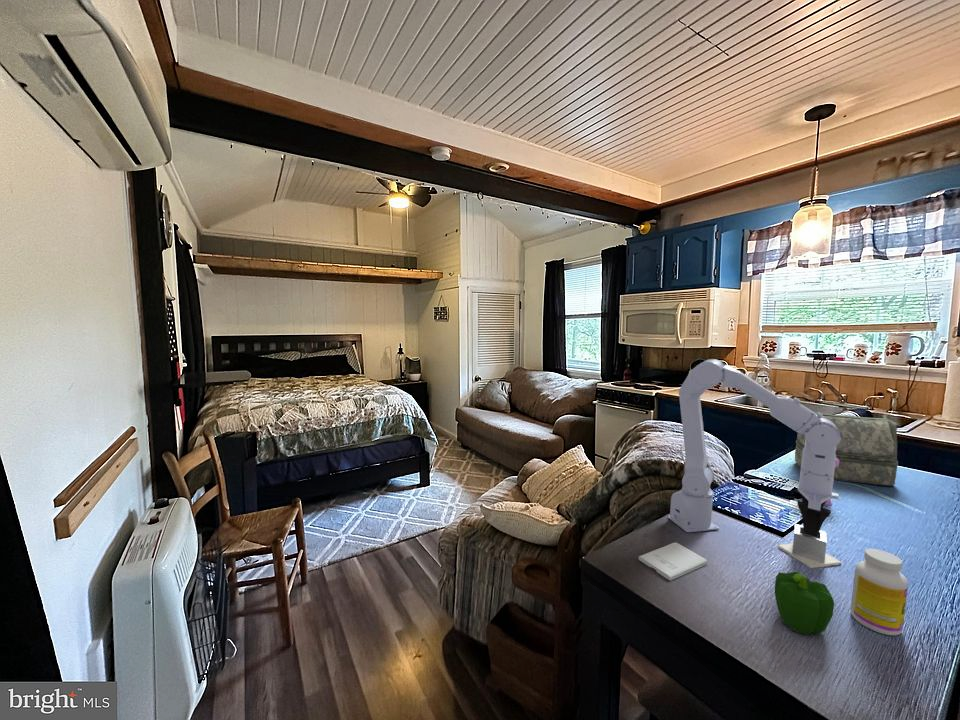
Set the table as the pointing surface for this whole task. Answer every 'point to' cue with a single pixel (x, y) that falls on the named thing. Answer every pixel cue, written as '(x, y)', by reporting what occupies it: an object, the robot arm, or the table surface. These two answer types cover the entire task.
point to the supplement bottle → (879, 592)
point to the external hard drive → (673, 560)
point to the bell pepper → (803, 603)
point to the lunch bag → (862, 449)
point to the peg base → (810, 563)
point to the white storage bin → (809, 545)
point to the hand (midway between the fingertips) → (810, 527)
